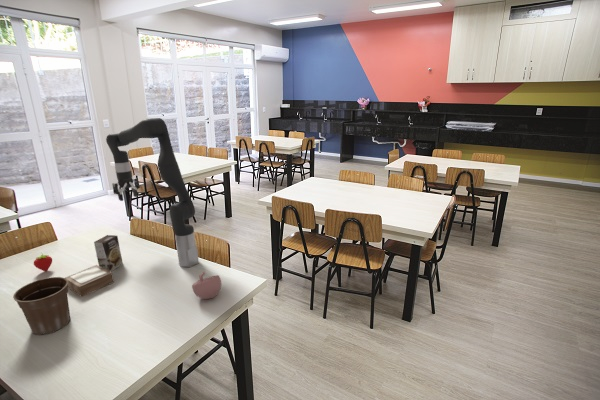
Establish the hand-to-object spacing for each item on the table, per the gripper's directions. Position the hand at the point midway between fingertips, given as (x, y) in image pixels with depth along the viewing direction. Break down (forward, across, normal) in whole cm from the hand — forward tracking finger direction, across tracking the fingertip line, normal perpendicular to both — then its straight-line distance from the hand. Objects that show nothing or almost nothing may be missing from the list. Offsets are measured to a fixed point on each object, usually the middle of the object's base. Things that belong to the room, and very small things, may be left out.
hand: (128, 198), depth 184 cm
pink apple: (+30, -20, -74) cm, 82 cm away
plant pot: (+29, -61, -33) cm, 76 cm away
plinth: (+29, -38, -18) cm, 51 cm away
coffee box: (+29, -23, -12) cm, 39 cm away
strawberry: (+29, -41, +15) cm, 52 cm away
